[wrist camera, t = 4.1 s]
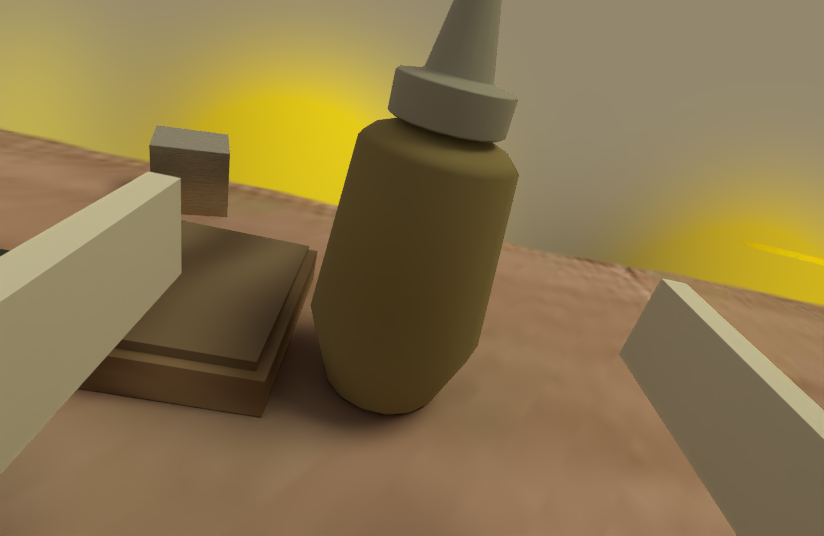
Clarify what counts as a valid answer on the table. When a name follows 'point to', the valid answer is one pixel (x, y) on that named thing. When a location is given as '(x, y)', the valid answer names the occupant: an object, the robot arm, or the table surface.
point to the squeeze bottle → (420, 225)
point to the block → (194, 167)
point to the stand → (214, 325)
